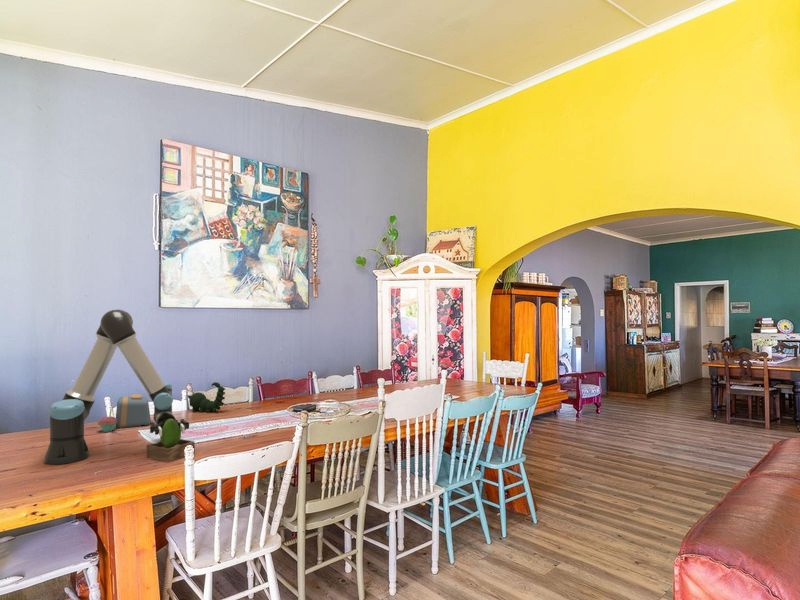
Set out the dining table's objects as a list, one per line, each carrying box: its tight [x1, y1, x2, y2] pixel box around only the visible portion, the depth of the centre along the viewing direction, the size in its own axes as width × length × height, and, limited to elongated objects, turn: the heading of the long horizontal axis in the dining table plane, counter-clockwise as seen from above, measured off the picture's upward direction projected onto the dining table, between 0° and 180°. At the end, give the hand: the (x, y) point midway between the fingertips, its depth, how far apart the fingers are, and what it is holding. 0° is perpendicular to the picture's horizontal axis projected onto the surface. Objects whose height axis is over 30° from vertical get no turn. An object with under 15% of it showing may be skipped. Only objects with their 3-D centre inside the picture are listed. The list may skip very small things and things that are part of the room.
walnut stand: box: [146, 438, 195, 463], centre depth 208 cm, size 13×13×5 cm
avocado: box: [159, 419, 182, 447], centre depth 208 cm, size 8×8×12 cm
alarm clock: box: [115, 393, 152, 429], centre depth 265 cm, size 16×16×16 cm
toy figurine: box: [186, 381, 226, 413], centre depth 296 cm, size 9×19×25 cm
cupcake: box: [97, 407, 118, 433], centre depth 251 cm, size 9×8×12 cm
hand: (172, 431), depth 204 cm, fingers closed on avocado, 8 cm apart
